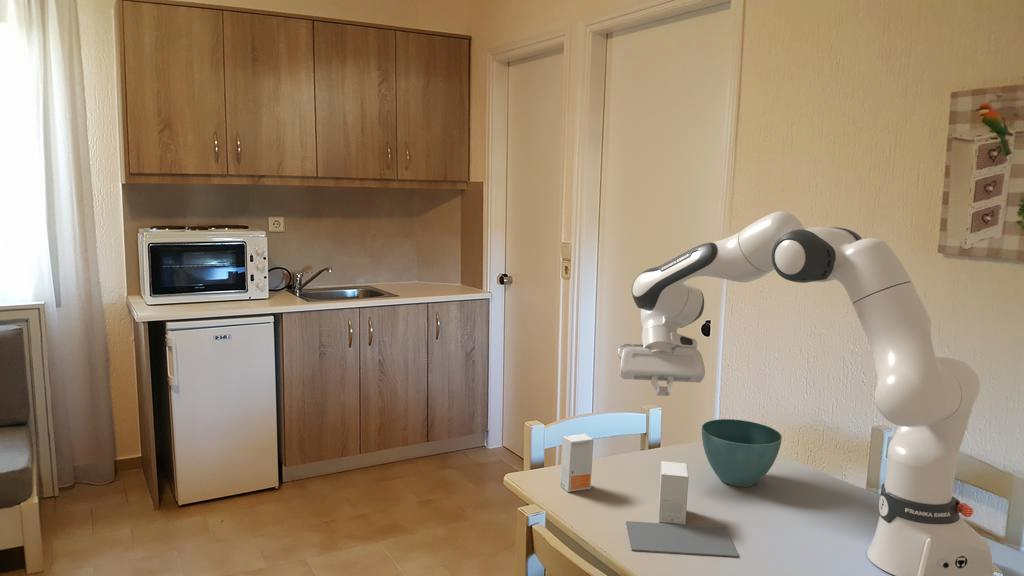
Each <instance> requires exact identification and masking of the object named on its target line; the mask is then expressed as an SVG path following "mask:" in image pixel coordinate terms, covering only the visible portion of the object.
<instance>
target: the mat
mask: <svg viewBox="0 0 1024 576" xmlns="http://www.w3.org/2000/svg"><path fill="white" fill-rule="evenodd" d="M625 525H626V529H627V534H628V535H627V536H628V538H629V543H630V549H631V551H632V552H647V553H661V554H680V555H694V556H707V557H709V556H711V557H713V556H714V557H727V558H739V554H738V551H737V550H736V548H735V546H734V544H733V542H732V540H731V538H730V535H729V534H728V532H727V529H726V527H725V526H716V525H715V526H714V525H713V526H712V525H698V524H697V525H696V524H685V525H684V524H673V523H664V522H647V521H630V520H626V521H625Z"/></svg>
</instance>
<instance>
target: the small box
mask: <svg viewBox="0 0 1024 576" xmlns="http://www.w3.org/2000/svg"><path fill="white" fill-rule="evenodd" d="M688 470H689V469H688V464H687V463H684V462H675V461H664V460H662V461H661V462H660V471H659V473H660V474H659V475H660V476H659V492H658V493H659V494H658V523H667V524H684V525H687V524H686V521H687V505H688V493H689V492H688V491H689V480H690V479H689V471H688Z"/></svg>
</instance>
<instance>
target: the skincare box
mask: <svg viewBox="0 0 1024 576" xmlns="http://www.w3.org/2000/svg"><path fill="white" fill-rule="evenodd" d="M561 439H562V443H561V445H562V446H561V456H560V457H561V458H560V459H561V461H560V478H559V479H560V480H559V486H560V487H561V488H563V490H565V491H566V492H567V493H569V492H570V493H572V492H577V491H585V490H591V487H592V486H591V485H592V469H593V467H592V466H593V457H594V456H593V453H594V438H592V437H591V436H589V435H588V434H586V433H581V434H570V435H563V436H562V438H561Z"/></svg>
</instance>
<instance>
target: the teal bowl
mask: <svg viewBox="0 0 1024 576" xmlns="http://www.w3.org/2000/svg"><path fill="white" fill-rule="evenodd" d="M782 438H783V436H782V434H781V433H780V432H779V431H778V430H776V429H774V428H772V427H770V426H768V425H764V424H763V423H757V422H753V421H751V420H749V421H748V420H743V419H736V418H735V419H734V418H732V419H731V418H721V419H719V418H718V419H712V420H707V421H706V422H704V423H703V424H702V425H701V439H702V445H703V449H704V454H705V457H706V459H707V462H708V463H709V465H710V467H711V468H712V470H713V472H714V473H715V475H716V476H717V478H719V480H721V482H723V483H725V484H727V485H730V486H734V487H741V488H742V487H747V488H748V487H751V486H754V485H755V484H757V483H758V482H759V481H761V479H763V478H764V477H765V476H766V475H767V473H768V472H769V471H770V469H772V467H773V466H774V463H775V461H776V460H777V456H778V454H779V451H780V448H781V444H782Z"/></svg>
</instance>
